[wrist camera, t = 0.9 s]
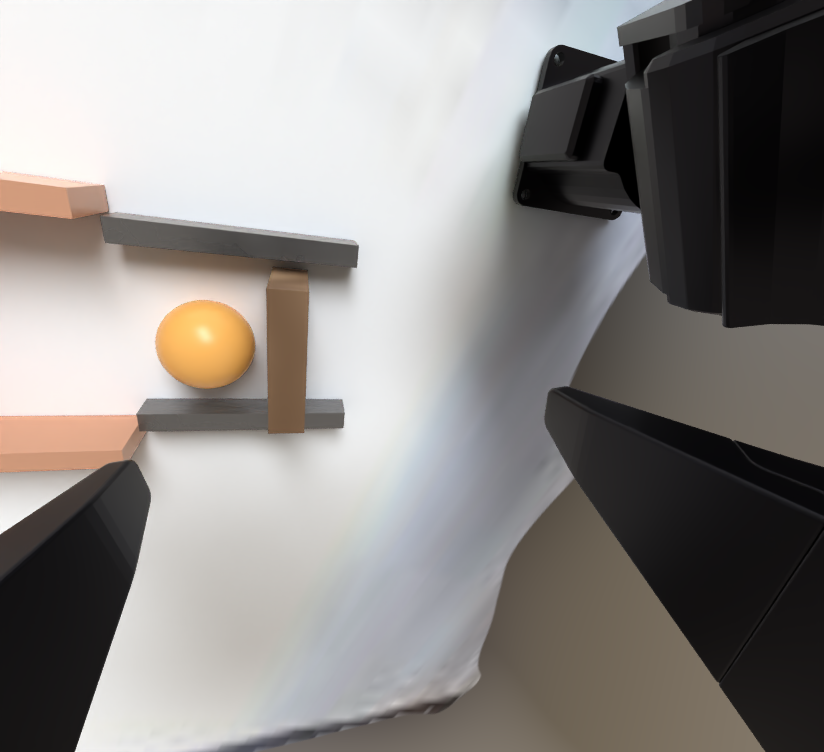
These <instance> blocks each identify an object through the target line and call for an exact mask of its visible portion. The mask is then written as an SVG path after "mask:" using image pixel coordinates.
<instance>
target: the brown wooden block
mask: <svg viewBox="0 0 824 752" xmlns="http://www.w3.org/2000/svg"><path fill="white" fill-rule="evenodd" d="M266 294H267V366H268V434H271V433H304V426H305V396H306V366H307V336H308V306H309V285H308V270H302V269H291V268H280V267H273V268H272V271H271V275H270V278H269V281H268V285H267V288H266Z"/></svg>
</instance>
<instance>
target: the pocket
mask: <svg viewBox="0 0 824 752" xmlns="http://www.w3.org/2000/svg"><path fill="white" fill-rule="evenodd" d="M0 211H5V212H14V213H23V214H32V215H41V216H50V217H59V218H68V219H75V218H80V217H85V216H89V215H94V214H99V213H104V212H108V211H109V210H108V204H107V198H106V193H105V187H104V185H100V184H93V183H86V182H78V181H71V180H63V179H56V178H49V177H41V176H34V175H26V174H19V173H11V172H4V171H0ZM146 432H147V431H141V432H140V431H139V426H138V421H137V415H114V416H0V472H24V471H50V470H75V469H100V468H101V467H103V466H104V465H106V464H108V463H111V462H117V461H123V460H130V459H131V457H132V455H133V454H134V452H135V450H136V449H137V447H138V445H139V444H140V442H141V440H142V439H143V437H144V435H145V433H146Z"/></svg>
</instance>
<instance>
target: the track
mask: <svg viewBox="0 0 824 752" xmlns="http://www.w3.org/2000/svg"><path fill="white" fill-rule="evenodd" d="M100 219H101V224H102V230H103V235H104V240H105V243H113V244H123V245H133V246H143V247H153V248H163V249H173V250H183V251H193V252H203V253H213V254H223V255H233V256H243V257H254V258H264V259H274V260H284V261H294V262H304V263H314V264H324V265H334V266H344V267H354V268H357V260H358V248H359V245H358V244H357V243H356V242H355V241H353V240H345V239H336V238H328V237H320V236H311V235H303V234H294V233H286V232H278V231H269V230H261V229H252V228H244V227H235V226H227V225H219V224H210V223H202V222H193V221H185V220H177V219H168V218H160V217H151V216H143V215H135V214H126V213H118V212H115V213H110V214H106V215H101V216H100ZM344 414H345V413H344V407H343V401H342V400H338V399H305V426H304V429H318V428H343V426H344ZM136 415H137V421H138V426H139V431H140V432H141V431H200V430H259V429H268V399H146V401H145V402H144V404H143V405H142V407H141V408H140V410H139V411H138V413H137V414H136Z"/></svg>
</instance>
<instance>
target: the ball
mask: <svg viewBox="0 0 824 752" xmlns="http://www.w3.org/2000/svg"><path fill="white" fill-rule="evenodd" d="M155 345H156V352H157V356H158V358H159V360H160V362H161V364H162V366H163V367H164V368H165V370H166V371H167V372H168V373H169V374H170V375H171V376H172V377H174V378H175V379H176V380H178V381H180V382H182V383H184V384H186V385H188V386H192V387H195V388H203V389H212V388H219V387H223V386H226V385H228V384H230V383H232V382H234V381H236V380H237V379H239V378H240V377H241V376H242V375H243V374H244V373H245V372H246V371H247V369H248V368H249V366H250V365H251V363H252V360H253V358H254V353H255V338H254V334H253V332H252V329H251V327H250V325H249V323H248V322H247V321H246V319H245V318H244V317H243V316H242V315H241V314H240V313H239V312H237V311H236V310H235V309H233V308H231V307H230V306H228V305H225V304H223V303H220V302H216V301H210V300H196V301H191V302H187V303H184V304H182V305H180V306H178V307H176V308H175V309H173V310H172V311H171V312H169V313H168V314H167V315H166V316H165V318H164V319H163V320H162V322H161V323H160V325H159V327H158V330H157V334H156V340H155Z"/></svg>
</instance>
